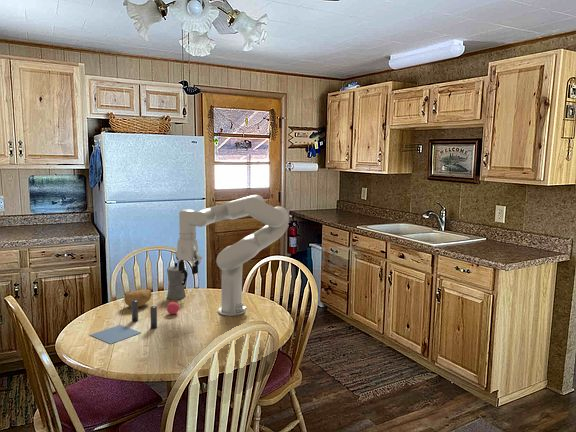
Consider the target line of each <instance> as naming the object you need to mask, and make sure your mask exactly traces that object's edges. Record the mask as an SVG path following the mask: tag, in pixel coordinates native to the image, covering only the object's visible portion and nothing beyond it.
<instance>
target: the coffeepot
mask: <svg viewBox="0 0 576 432" xmlns="http://www.w3.org/2000/svg"><path fill="white" fill-rule="evenodd" d="M166 272H167V278H168V282H169V285H168V288H167V293H166V297H167V298H168V299H169V300H182V299H184V298H185V297H186V292H185V287H184V286H185V285H186V284H187V279H188V271H187V270H186V268H185V267H184V270H183V271H179V264H178V262H174V265H173V266H167V268H166Z"/></svg>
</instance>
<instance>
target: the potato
mask: <svg viewBox="0 0 576 432" xmlns="http://www.w3.org/2000/svg"><path fill="white" fill-rule="evenodd" d="M151 298H152V291H151V290H150V289H147V288H146V289H145V288H143V289H142V288H141V289H137V290H133V291H130V292H126V294H125V295H124V298H123V300H124V303H125V304H126V306H127V307H131V308H132V301H133V300H138V308H141V307H143V306H145V305H146V304H147V303H148V302H149V301H150V299H151Z"/></svg>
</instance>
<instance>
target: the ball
mask: <svg viewBox="0 0 576 432" xmlns="http://www.w3.org/2000/svg"><path fill="white" fill-rule="evenodd" d="M166 306H167V307H166V311H167V313H168V314H171V315H176V314H177V313H178V312H179V311H180V305H179V304H178V303H177V302H174V301H171V302H169V303H168V304H167V305H166Z"/></svg>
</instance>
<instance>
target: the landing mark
mask: <svg viewBox="0 0 576 432" xmlns="http://www.w3.org/2000/svg"><path fill="white" fill-rule="evenodd" d="M140 334H142V332H141V331H137V330H135V329H133V328H129V327H127V326H125V325H122V324H118V325H115V326H112V327H109V328H106V329H104V330H100V331H97V332H95V333H91V334H89V336H91V337H93V338H95V339H97V340H99V341H102V342H105V343H106V344H109V345H112V344H115V343H118V342H121V341H123V340H127V339H129V338H131V337H134V336H137V335H140Z"/></svg>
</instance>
